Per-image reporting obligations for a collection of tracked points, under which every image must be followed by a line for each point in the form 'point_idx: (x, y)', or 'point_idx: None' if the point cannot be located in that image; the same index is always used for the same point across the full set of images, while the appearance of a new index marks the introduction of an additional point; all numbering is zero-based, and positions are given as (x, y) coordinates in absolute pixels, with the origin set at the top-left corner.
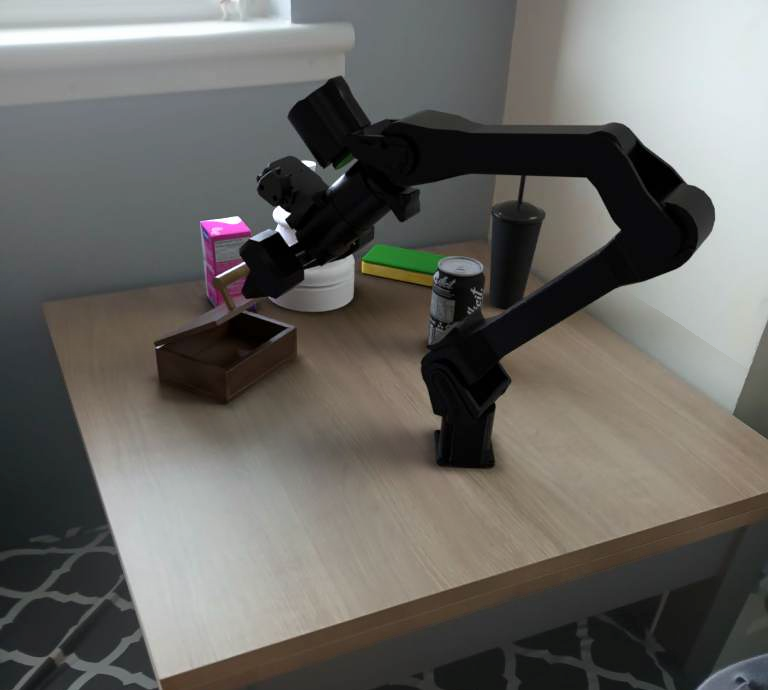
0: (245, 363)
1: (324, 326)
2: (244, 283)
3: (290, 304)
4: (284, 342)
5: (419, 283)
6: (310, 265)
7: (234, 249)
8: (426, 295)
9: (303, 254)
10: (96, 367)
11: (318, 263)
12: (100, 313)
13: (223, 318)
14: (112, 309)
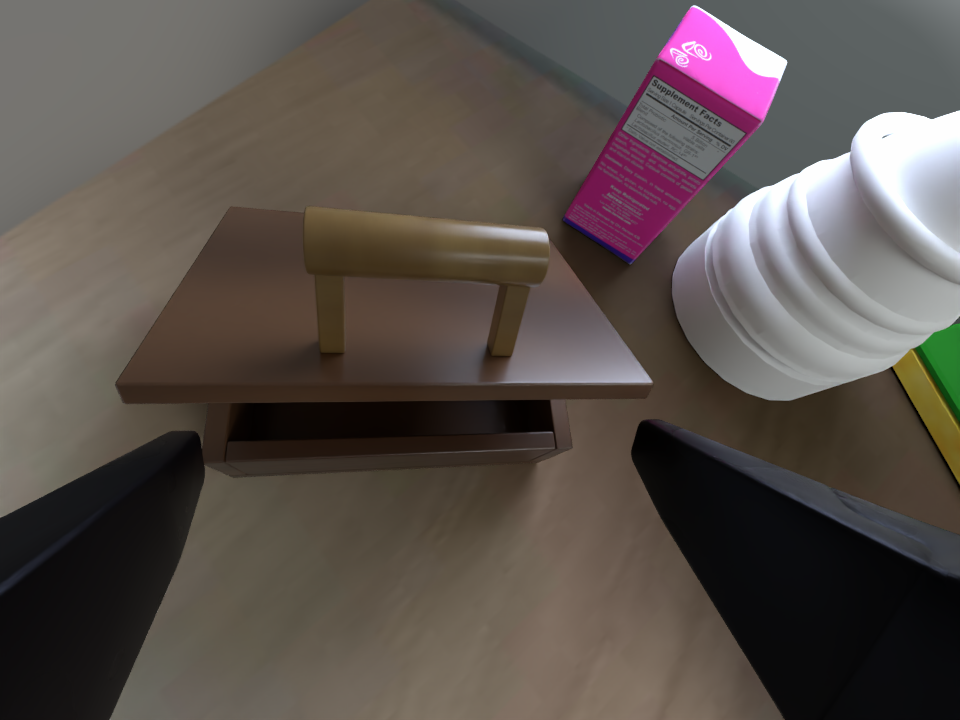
0: (314, 460)
1: (682, 422)
2: (76, 481)
3: (686, 315)
4: (506, 455)
5: (955, 475)
6: (701, 565)
7: (683, 133)
8: (940, 519)
9: (730, 507)
10: (229, 148)
11: (740, 633)
12: (418, 60)
13: (176, 392)
14: (444, 69)
